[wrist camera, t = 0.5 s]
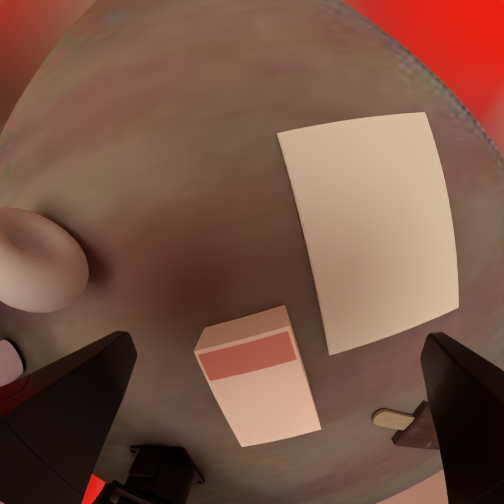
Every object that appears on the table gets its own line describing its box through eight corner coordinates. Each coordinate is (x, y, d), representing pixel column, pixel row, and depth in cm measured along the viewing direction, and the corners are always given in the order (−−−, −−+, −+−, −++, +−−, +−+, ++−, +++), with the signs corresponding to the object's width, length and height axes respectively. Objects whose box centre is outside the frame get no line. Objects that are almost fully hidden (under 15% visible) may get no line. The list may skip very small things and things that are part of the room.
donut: (119, 262, 19) (26, 299, 10) (103, 298, 20) (18, 349, 10) (41, 198, 19) (-48, 199, 9) (29, 232, 19) (-55, 246, 9)
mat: (455, 305, 19) (458, 307, 18) (328, 352, 20) (329, 355, 19) (421, 114, 17) (424, 112, 16) (276, 135, 18) (277, 133, 17)
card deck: (313, 398, 21) (321, 429, 17) (244, 415, 21) (241, 447, 17) (284, 303, 20) (290, 325, 16) (205, 326, 20) (193, 351, 16)
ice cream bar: (355, 429, 21) (442, 443, 22) (360, 440, 20) (447, 450, 20) (388, 388, 21) (469, 410, 21) (395, 398, 19) (475, 417, 19)
